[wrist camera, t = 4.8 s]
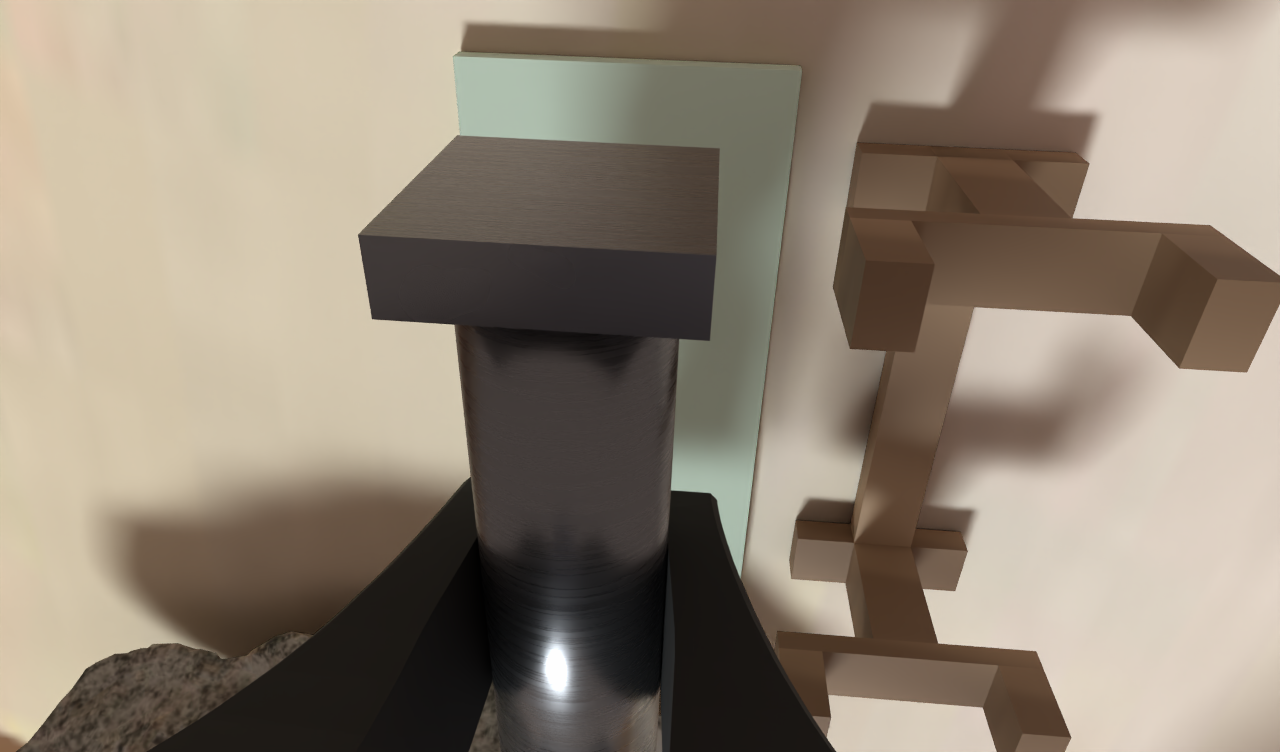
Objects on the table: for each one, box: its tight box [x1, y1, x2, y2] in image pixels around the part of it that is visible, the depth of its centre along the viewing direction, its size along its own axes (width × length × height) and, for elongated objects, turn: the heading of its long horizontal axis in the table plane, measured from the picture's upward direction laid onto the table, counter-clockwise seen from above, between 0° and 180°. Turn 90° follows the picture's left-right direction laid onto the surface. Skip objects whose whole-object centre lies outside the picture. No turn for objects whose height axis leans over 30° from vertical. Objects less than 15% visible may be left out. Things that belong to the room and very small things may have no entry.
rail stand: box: [774, 143, 1280, 752], centre depth 14 cm, size 10×5×5 cm, turn 179°
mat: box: [453, 52, 802, 579], centre depth 17 cm, size 12×6×1 cm, turn 179°
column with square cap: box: [358, 135, 720, 752], centre depth 11 cm, size 12×3×3 cm, turn 179°
